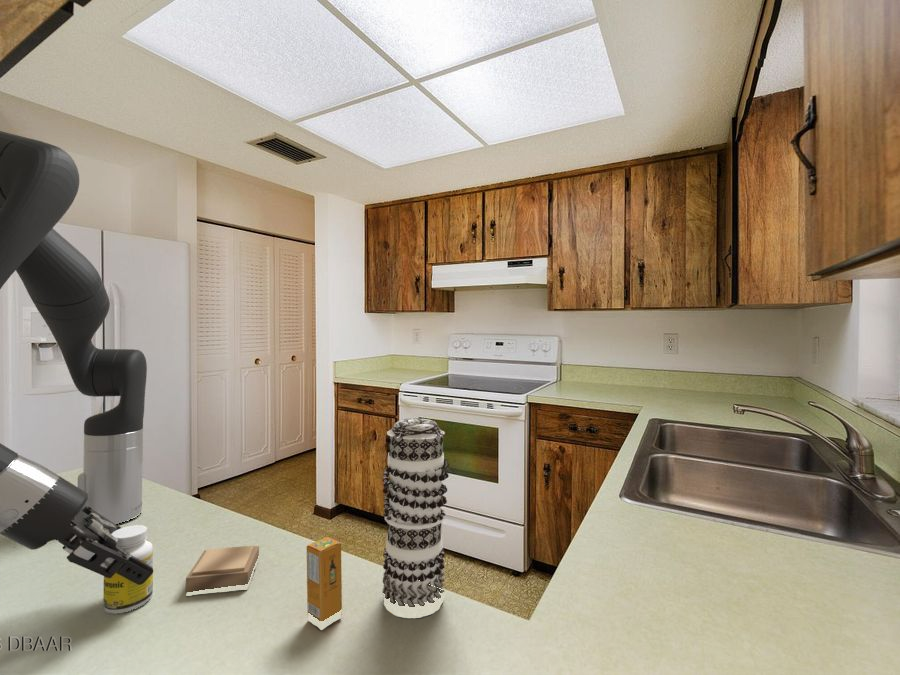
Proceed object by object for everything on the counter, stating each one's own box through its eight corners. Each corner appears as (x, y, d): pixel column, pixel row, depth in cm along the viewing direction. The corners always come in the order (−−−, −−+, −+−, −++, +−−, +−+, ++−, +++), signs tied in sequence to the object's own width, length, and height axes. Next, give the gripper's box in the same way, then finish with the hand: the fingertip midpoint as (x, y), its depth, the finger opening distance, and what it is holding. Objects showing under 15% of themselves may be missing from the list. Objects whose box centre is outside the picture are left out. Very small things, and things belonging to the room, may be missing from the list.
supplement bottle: (94, 607, 58) (95, 534, 58) (139, 587, 63) (140, 519, 63) (116, 620, 56) (117, 543, 56) (161, 598, 60) (162, 527, 60)
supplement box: (326, 608, 59) (328, 534, 59) (342, 619, 57) (343, 542, 57) (304, 620, 56) (305, 543, 56) (320, 632, 54) (321, 552, 54)
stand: (185, 596, 61) (186, 575, 61) (204, 567, 69) (204, 547, 69) (247, 590, 63) (247, 569, 63) (258, 561, 70) (259, 543, 70)
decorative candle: (454, 614, 58) (458, 426, 58) (384, 626, 55) (388, 429, 55) (437, 577, 67) (440, 414, 67) (376, 586, 64) (379, 416, 64)
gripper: (53, 491, 49) (176, 563, 57) (59, 461, 60) (161, 525, 68) (-16, 553, 45) (125, 621, 53) (3, 509, 56) (118, 571, 64)
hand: (145, 567), depth 60 cm, fingers closed on supplement bottle, 5 cm apart
